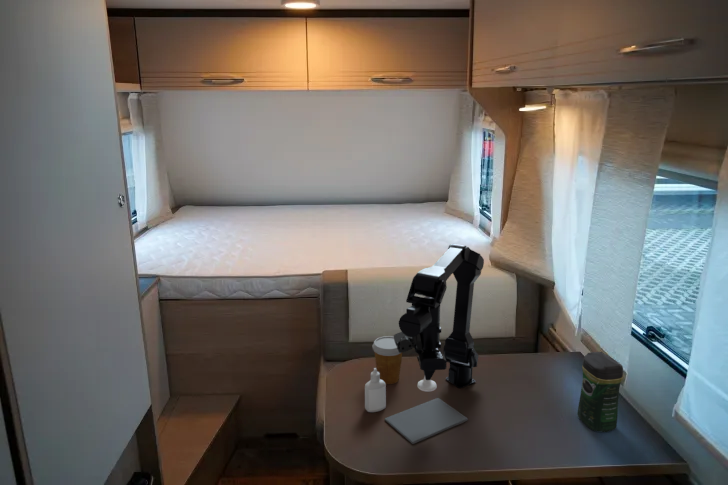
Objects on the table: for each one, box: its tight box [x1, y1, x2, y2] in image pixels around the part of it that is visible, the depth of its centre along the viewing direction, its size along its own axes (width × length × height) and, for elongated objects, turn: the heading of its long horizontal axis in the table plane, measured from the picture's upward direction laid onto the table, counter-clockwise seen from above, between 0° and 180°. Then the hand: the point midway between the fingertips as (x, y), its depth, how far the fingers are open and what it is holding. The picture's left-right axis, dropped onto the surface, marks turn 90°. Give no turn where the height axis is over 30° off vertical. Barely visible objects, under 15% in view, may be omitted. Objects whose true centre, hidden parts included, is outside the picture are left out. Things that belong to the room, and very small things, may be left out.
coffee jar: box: [576, 351, 624, 433], centre depth 138 cm, size 10×8×19 cm
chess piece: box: [417, 375, 438, 393], centre depth 138 cm, size 5×5×10 cm
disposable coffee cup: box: [371, 335, 404, 385], centre depth 161 cm, size 10×10×12 cm
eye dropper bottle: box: [364, 367, 387, 413], centre depth 146 cm, size 4×6×12 cm
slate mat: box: [384, 397, 468, 445], centre depth 142 cm, size 18×12×1 cm, turn 122°
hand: (427, 377), depth 139 cm, fingers closed on chess piece
